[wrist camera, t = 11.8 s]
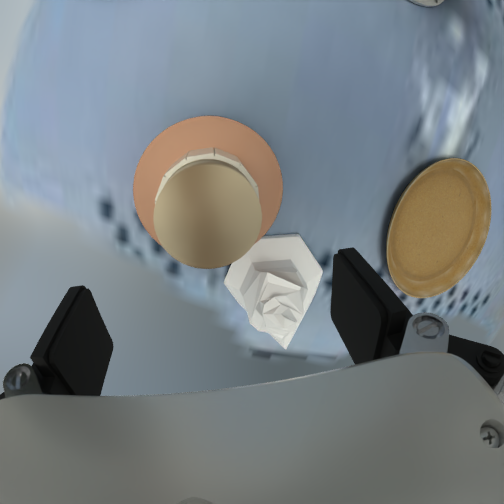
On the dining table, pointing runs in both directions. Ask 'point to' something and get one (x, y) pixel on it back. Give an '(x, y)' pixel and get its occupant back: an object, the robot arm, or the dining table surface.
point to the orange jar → (208, 147)
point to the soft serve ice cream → (275, 284)
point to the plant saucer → (438, 228)
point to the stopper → (207, 214)
